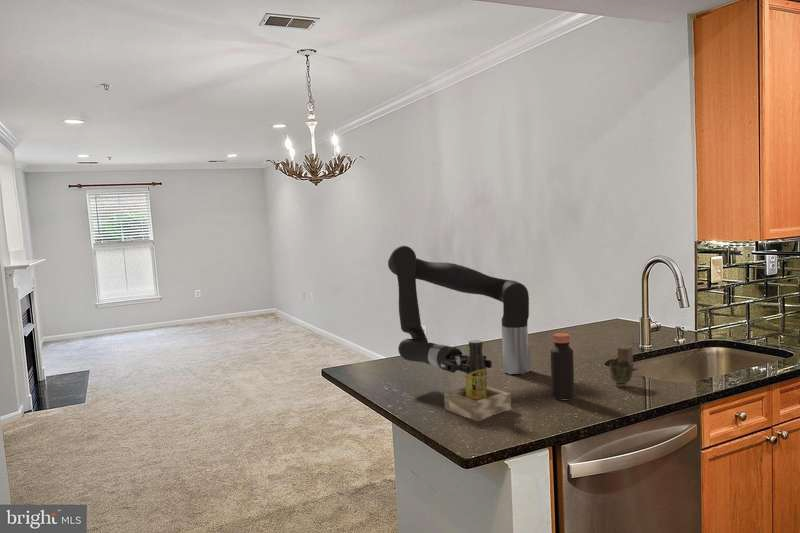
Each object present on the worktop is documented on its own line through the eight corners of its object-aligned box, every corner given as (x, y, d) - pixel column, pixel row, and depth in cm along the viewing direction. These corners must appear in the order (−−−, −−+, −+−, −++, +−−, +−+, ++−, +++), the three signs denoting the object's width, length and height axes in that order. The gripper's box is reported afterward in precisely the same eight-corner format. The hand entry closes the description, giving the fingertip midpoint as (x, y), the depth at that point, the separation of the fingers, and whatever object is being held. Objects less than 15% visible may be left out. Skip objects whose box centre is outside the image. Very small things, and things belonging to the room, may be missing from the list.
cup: (633, 383, 194) (632, 360, 193) (634, 390, 187) (633, 366, 186) (609, 382, 196) (608, 359, 195) (609, 389, 189) (609, 365, 188)
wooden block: (617, 369, 211) (617, 347, 211) (622, 366, 214) (622, 345, 213) (628, 371, 209) (628, 348, 208) (633, 368, 211) (632, 346, 211)
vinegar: (570, 402, 179) (569, 337, 177) (548, 399, 183) (547, 336, 181) (576, 395, 185) (575, 333, 183) (555, 392, 188) (554, 331, 186)
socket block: (478, 399, 186) (477, 383, 185) (511, 410, 174) (510, 393, 174) (444, 409, 178) (444, 393, 177) (476, 421, 166) (476, 404, 166)
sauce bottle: (473, 411, 172) (470, 345, 170) (462, 405, 178) (459, 341, 176) (492, 407, 175) (489, 341, 173) (480, 401, 180) (477, 338, 178)
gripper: (426, 349, 182) (462, 359, 169) (461, 342, 190) (497, 350, 177) (428, 373, 183) (463, 384, 169) (462, 364, 191) (498, 374, 178)
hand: (480, 367), depth 173 cm, fingers open, 8 cm apart
